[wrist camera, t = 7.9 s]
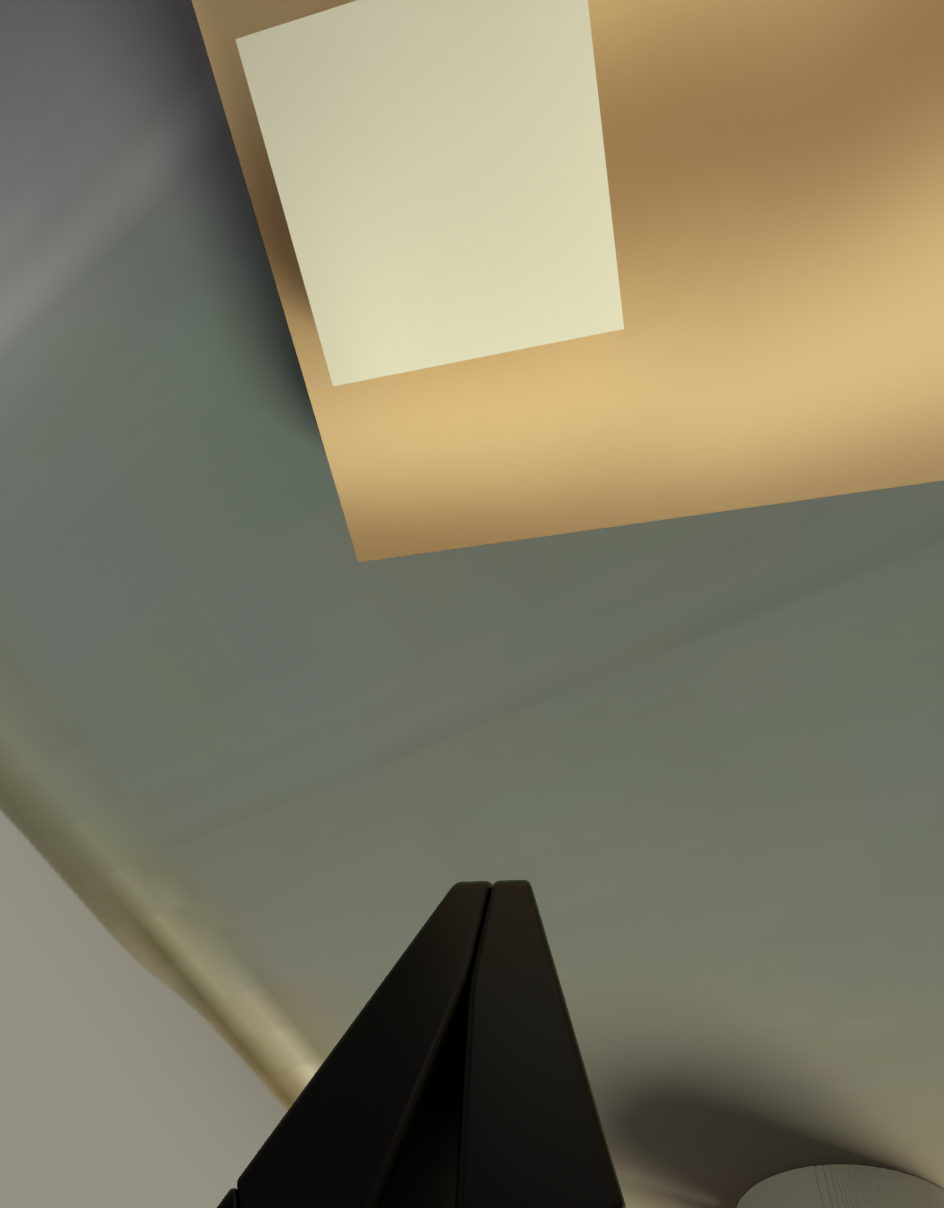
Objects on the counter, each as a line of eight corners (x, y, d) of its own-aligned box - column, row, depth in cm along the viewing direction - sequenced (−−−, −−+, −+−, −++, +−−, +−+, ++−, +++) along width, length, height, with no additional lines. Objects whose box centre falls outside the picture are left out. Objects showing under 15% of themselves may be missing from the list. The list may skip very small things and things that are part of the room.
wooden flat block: (1137, 382, 15) (1302, 430, 12) (402, 498, 19) (358, 561, 15) (1295, -503, 10) (1676, -896, 7) (243, -115, 14) (122, -234, 10)
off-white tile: (619, 313, 12) (624, 328, 10) (367, 364, 13) (332, 386, 11) (581, -21, 10) (580, -72, 9) (290, 68, 11) (234, 39, 10)
